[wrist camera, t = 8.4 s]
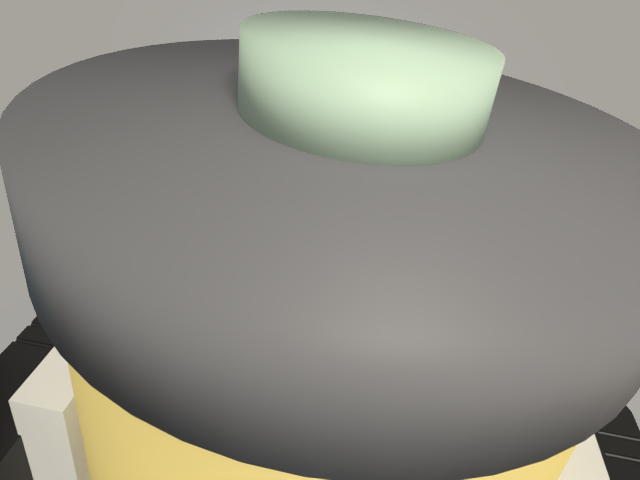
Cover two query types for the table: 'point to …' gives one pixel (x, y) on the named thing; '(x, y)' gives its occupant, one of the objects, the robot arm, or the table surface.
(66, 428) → the robot arm
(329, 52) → the yellow battery cell
